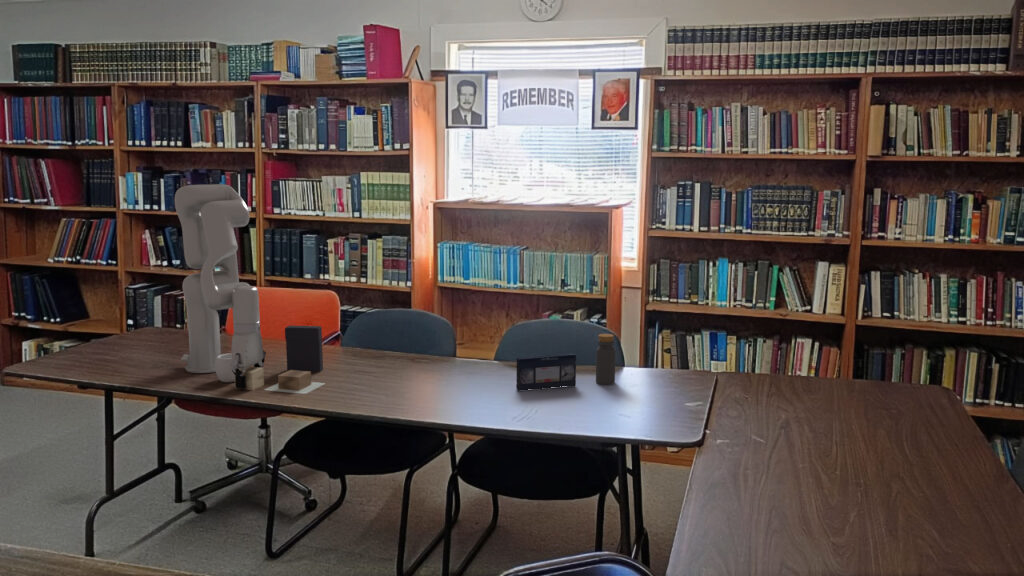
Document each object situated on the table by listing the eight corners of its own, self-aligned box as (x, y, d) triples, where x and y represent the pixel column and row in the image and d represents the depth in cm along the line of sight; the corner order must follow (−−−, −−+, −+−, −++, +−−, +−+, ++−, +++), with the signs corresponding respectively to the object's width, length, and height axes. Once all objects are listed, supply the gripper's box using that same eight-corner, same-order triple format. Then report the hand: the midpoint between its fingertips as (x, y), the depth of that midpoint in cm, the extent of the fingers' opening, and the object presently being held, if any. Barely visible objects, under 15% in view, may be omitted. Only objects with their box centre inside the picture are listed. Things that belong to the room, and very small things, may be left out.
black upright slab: (323, 370, 278) (322, 325, 276) (319, 374, 274) (318, 328, 271) (291, 369, 279) (289, 324, 277) (286, 373, 275) (284, 327, 273)
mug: (232, 385, 261) (231, 360, 260) (210, 382, 264) (208, 357, 263) (257, 375, 272) (256, 351, 271) (235, 373, 275) (234, 349, 274)
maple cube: (235, 390, 255) (234, 371, 254) (247, 385, 261) (246, 366, 260) (252, 392, 254) (251, 372, 253) (264, 387, 259) (263, 367, 258)
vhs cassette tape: (518, 391, 255) (518, 359, 253) (515, 389, 258) (515, 356, 256) (576, 387, 260) (576, 355, 258) (573, 384, 263) (573, 353, 261)
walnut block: (278, 388, 255) (277, 375, 254) (291, 382, 262) (290, 369, 261) (299, 390, 253) (298, 377, 252) (311, 384, 260) (310, 371, 259)
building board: (263, 391, 254) (263, 389, 254) (285, 381, 265) (285, 379, 265) (305, 395, 250) (305, 393, 250) (325, 385, 261) (325, 383, 261)
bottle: (592, 383, 264) (593, 335, 261) (600, 379, 269) (600, 332, 266) (610, 386, 261) (611, 337, 258) (617, 381, 266) (618, 334, 264)
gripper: (252, 321, 264) (255, 376, 267) (218, 332, 247) (221, 391, 250) (274, 322, 262) (276, 378, 264) (240, 334, 245) (243, 393, 248)
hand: (249, 384), depth 257 cm, fingers open, 8 cm apart
